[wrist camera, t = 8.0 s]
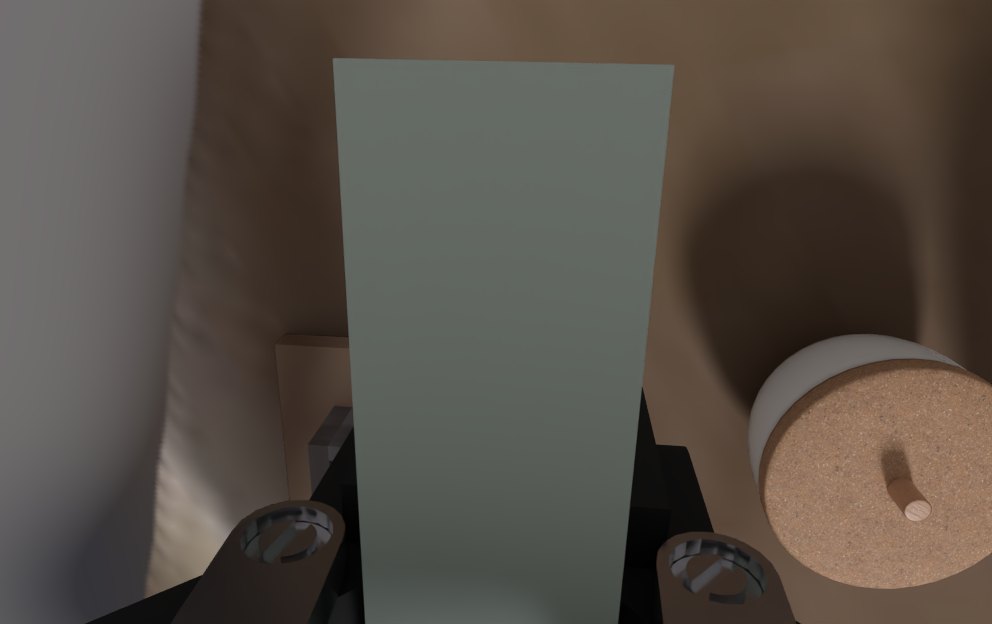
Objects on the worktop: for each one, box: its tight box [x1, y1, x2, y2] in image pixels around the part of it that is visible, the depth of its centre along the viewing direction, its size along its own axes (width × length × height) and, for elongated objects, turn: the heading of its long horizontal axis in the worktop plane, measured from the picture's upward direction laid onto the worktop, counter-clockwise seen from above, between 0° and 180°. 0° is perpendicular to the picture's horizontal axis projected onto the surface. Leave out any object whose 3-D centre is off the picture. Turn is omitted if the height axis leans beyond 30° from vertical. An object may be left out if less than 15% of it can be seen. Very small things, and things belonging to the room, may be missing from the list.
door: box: [333, 58, 674, 624], centre depth 12 cm, size 2×12×12 cm, turn 179°
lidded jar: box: [748, 334, 992, 589], centre depth 31 cm, size 11×11×9 cm
